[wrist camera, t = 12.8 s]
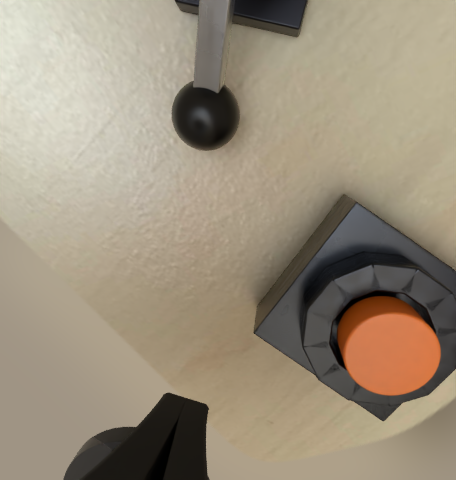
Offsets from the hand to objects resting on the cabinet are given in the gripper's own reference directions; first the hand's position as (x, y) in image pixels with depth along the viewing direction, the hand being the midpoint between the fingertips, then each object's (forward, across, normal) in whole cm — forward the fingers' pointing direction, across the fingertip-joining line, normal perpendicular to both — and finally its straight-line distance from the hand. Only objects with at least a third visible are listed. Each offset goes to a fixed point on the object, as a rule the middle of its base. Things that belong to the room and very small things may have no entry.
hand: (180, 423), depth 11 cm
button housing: (+11, -7, -2) cm, 13 cm away
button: (+6, -7, -2) cm, 9 cm away
